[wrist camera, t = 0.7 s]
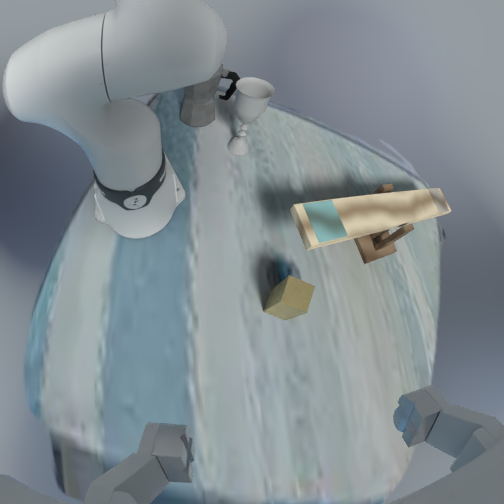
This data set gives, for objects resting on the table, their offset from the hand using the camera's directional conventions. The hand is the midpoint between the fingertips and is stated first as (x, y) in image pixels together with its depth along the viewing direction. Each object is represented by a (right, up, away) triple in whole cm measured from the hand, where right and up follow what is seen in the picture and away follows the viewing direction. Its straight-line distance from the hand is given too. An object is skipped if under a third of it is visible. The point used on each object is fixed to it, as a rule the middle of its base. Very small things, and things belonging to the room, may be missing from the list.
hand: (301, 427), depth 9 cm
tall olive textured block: (+3, -3, +42) cm, 42 cm away
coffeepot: (-14, +40, +54) cm, 69 cm away
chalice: (-5, +30, +53) cm, 61 cm away
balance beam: (+27, +15, +43) cm, 53 cm away
